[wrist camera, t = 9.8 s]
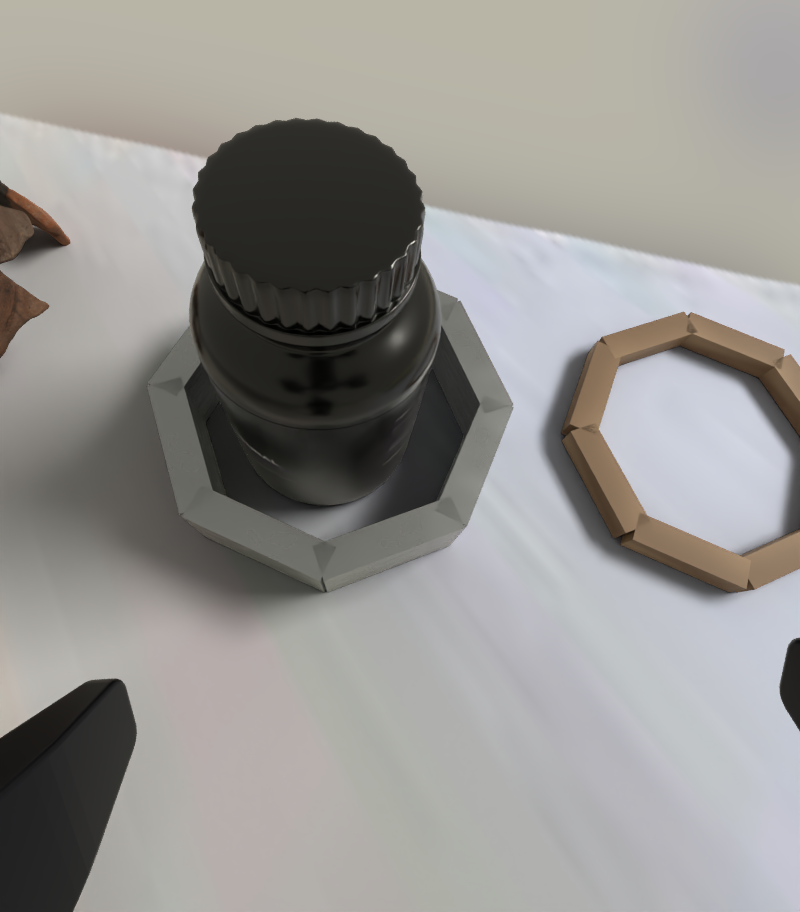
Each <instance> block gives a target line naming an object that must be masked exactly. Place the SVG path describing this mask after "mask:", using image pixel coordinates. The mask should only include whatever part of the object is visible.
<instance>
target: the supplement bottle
mask: <svg viewBox="0 0 800 912" xmlns="http://www.w3.org/2000/svg"><path fill="white" fill-rule="evenodd" d="M198 180H199V181H198V182H197V184H196V185H195V187H194V188H193V196H194V200H195V201H194V203H193V206H192V213H193V217H194V220H195V223H196V231H197V235H198V238H199V241H200V244H201V246H202V249H203V252H204V262H203V264H202V266H201V268H200V270H199V272H198V274H197V277H196V280H195V282H194V285H193V289H192V293H191V298H190V307H189V322H190V330H191V335H192V339H193V343H194V346H195V349H196V351H197V354H198V356H199V359H200V361H201V364H202V366H203V368H204V370H205V372H206V374H207V376H208V378H209V380H210V382H211V385H212V387H213V389H214V391H215V393H216V395H217V397H218V399H219V401H220V403H221V405H222V407H223V409H224V411H225V413H226V415H227V417H228V419H229V421H230V423H231V425H232V428H233V430H234V432H235V434H236V436H237V438H238V440H239V442H240V444H241V446H242V448H243V450H244V452H245V454H246V456H247V458H248V459H249V461H250V463H251V465H252V466H253V468H254V469H255V471H256V472H257V473H258V474H259V476H260V477H261V478H262V479H263V480H264V481H265V482H266V483H267V484H268V485H269V486H271V487H272V488H273V489H274V490H276V491H278V492H279V493H281V494H282V495H284V496H286V497H289V498H291V499H293V500H296V501H299V502H303V503H307V504H313V505H337V504H343V503H348V502H351V501H354V500H357V499H360V498H362V497H364V496H366V495H368V494H370V493H372V492H373V491H375V490H376V489H377V488H379V487H380V486H381V485H382V484H384V483H385V482H386V481H387V480H388V479H389V478H390V476H391V475H392V474H393V473H394V471H395V470H396V468H397V467H398V465H399V464H400V462H401V460H402V458H403V456H404V453H405V451H406V448H407V445H408V443H409V440H410V436H411V433H412V430H413V427H414V424H415V420H416V417H417V414H418V411H419V408H420V404H421V401H422V398H423V395H424V392H425V388H426V385H427V382H428V379H429V376H430V372H431V369H432V366H433V363H434V359H435V356H436V352H437V348H438V344H439V339H440V333H441V319H442V316H441V306H440V300H439V295H438V292H437V289H436V286H435V283H434V280H433V278H432V276H431V274H430V272H429V270H428V268H427V266H426V265H425V263H424V261H423V260H422V259H421V243H422V237H423V230H424V228H423V224H424V219H425V207H424V205H423V203H422V198H423V197H422V190H421V189H420V188H419V187H418V185H417V184H416V175H415V174H414V173H413V172H411V171H410V170H409V169H408V167H407V164H406V161H405V160H403V159H402V158H400V157H399V156H397V155H396V153H395V151H394V150H393V149H392V147H389V146H387V145H385V144H383V143H382V142H381V141H380V140H379V139H378V138H377V137H376V136H373V135H369V134H366V133H364V132H363V131H362V130H360V129H359V128H355V127H348V126H345V125H343V124H341V123H339V122H326V121H323V120H320V119H310V120H304V119H299V118H295V119H291V120H287V121H281V120H275V121H273V122H271V123H268V124H266V125H256V126H254V127H252V128H251V129H250V130H248V131H245V132H241V133H238V134H236V135H235V136H234V137H233V138H232V140H230V141H228V142H225V143H223V144H221V145H220V147H219V149H218V151H217V152H216V153H214V154H212V155H211V156H209V157H208V159H207V162H206V166H205V167H204V168H203V169H201V170H200V171H199V172H198Z"/></svg>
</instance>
